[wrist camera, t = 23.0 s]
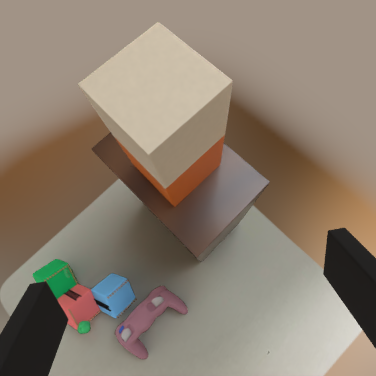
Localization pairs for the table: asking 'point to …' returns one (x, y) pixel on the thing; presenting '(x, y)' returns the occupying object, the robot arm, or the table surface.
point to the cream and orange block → (163, 110)
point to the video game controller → (146, 319)
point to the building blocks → (85, 294)
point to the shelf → (193, 197)
